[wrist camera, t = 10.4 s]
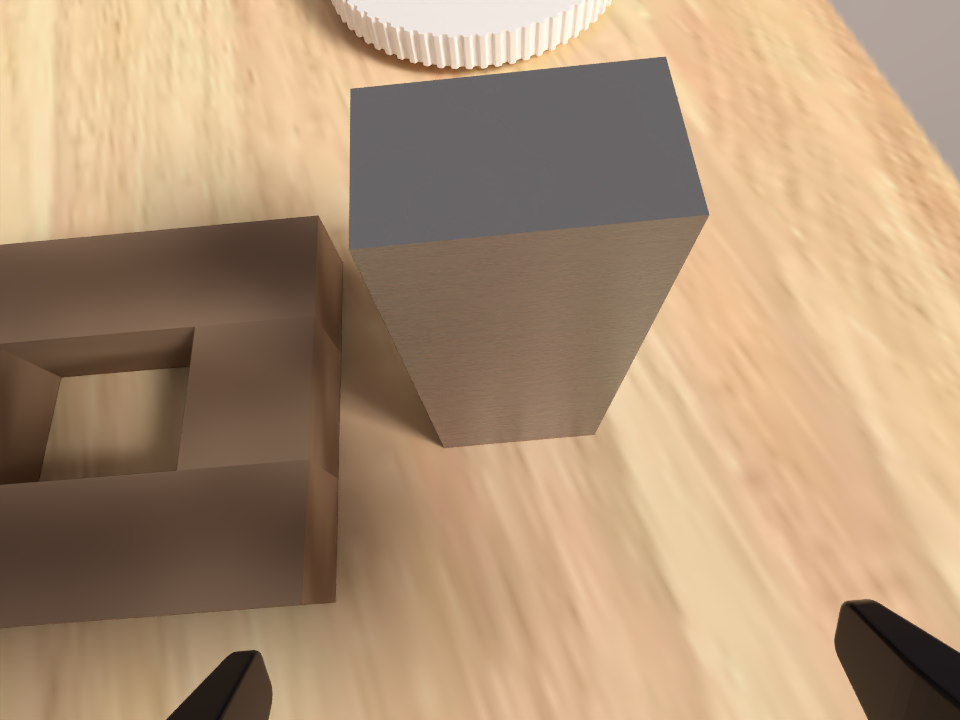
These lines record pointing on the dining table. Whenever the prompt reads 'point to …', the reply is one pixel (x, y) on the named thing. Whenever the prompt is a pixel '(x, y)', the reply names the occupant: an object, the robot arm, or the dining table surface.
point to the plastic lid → (468, 28)
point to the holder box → (205, 430)
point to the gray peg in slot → (522, 237)
